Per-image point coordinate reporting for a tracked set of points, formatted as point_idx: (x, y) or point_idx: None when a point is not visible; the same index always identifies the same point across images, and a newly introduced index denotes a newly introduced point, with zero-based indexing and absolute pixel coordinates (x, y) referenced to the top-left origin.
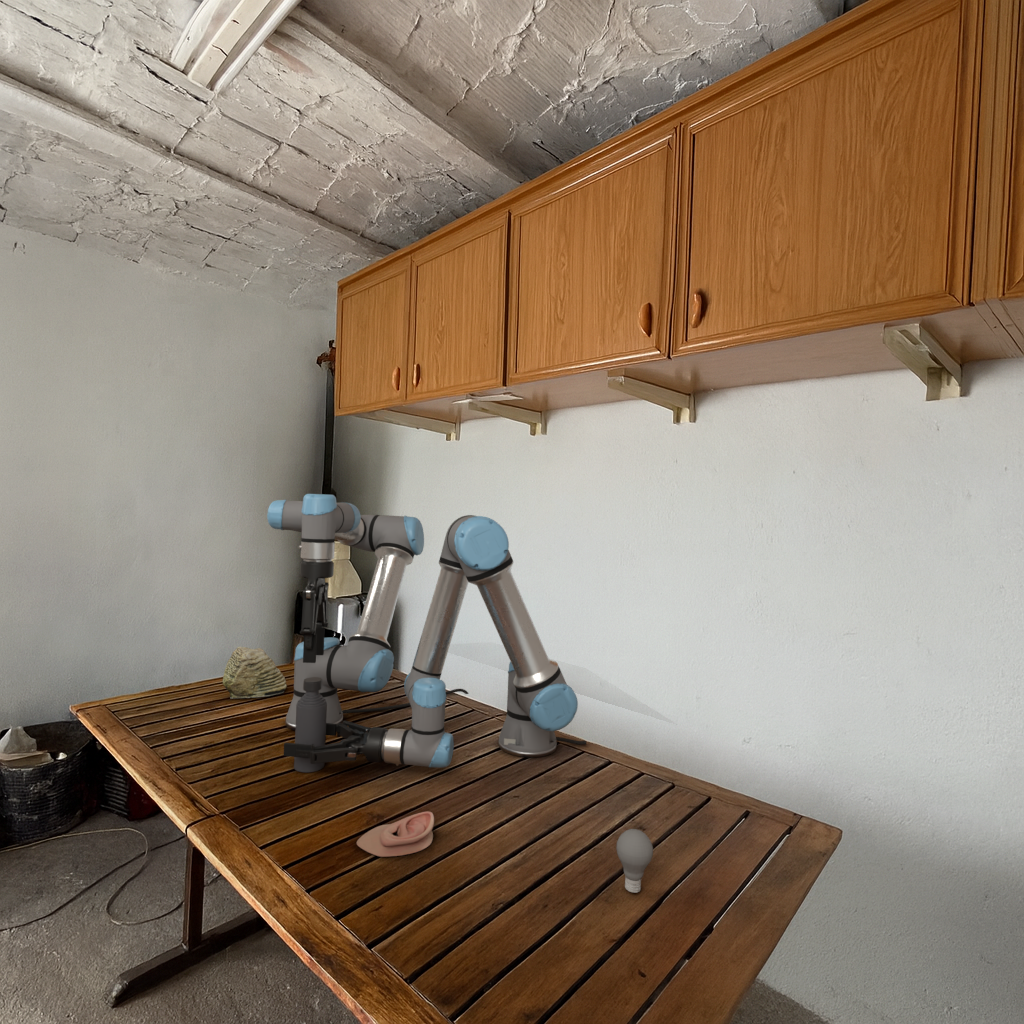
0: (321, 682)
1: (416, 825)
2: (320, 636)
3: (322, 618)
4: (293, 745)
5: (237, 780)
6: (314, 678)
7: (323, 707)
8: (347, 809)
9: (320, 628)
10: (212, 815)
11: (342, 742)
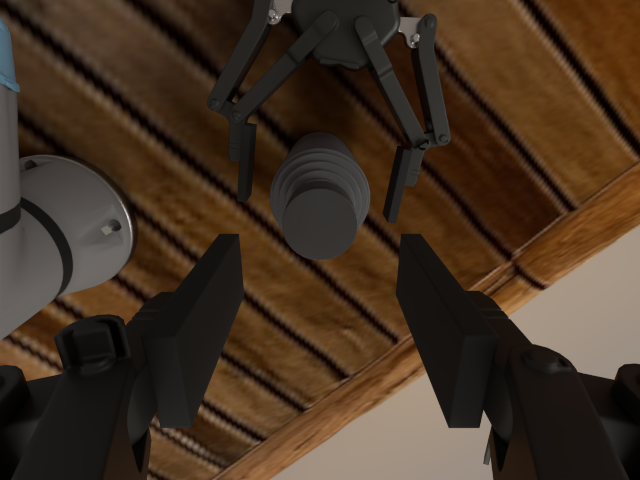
0: (316, 186)
1: None
2: (207, 313)
3: (116, 446)
4: (400, 199)
5: (387, 276)
6: (303, 222)
7: (342, 152)
8: (532, 23)
9: (181, 362)
10: (516, 268)
11: (389, 69)
